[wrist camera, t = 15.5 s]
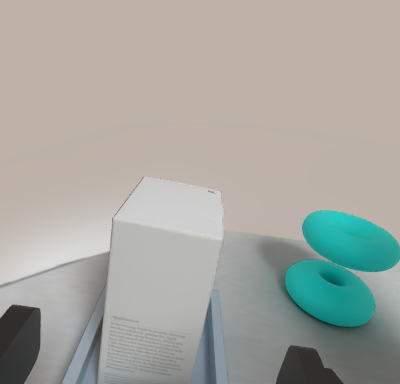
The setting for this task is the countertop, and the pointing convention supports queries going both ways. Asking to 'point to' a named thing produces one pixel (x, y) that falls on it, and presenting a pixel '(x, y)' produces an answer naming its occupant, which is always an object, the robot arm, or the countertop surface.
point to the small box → (159, 282)
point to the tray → (204, 364)
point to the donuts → (336, 275)
